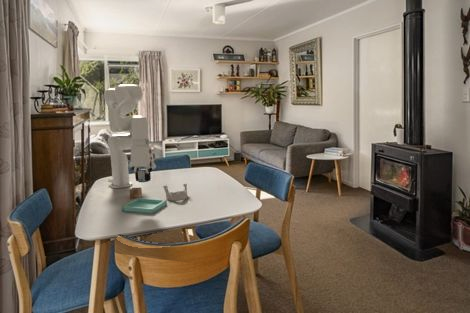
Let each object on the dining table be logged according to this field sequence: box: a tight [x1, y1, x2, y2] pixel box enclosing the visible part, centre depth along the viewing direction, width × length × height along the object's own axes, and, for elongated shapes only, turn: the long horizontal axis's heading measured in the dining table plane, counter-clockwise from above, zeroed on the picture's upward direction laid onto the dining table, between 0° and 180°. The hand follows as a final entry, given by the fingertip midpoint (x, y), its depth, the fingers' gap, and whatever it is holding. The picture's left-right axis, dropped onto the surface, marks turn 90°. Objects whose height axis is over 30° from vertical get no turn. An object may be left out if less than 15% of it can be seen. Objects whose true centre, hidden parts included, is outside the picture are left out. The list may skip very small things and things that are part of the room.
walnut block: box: [128, 187, 143, 200], centre depth 175 cm, size 5×5×5 cm
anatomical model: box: [162, 183, 189, 202], centre depth 172 cm, size 13×11×10 cm
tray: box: [121, 197, 168, 215], centre depth 159 cm, size 16×14×2 cm
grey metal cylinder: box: [137, 168, 147, 183], centre depth 156 cm, size 5×5×6 cm
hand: (143, 180), depth 156 cm, fingers closed on grey metal cylinder, 4 cm apart
